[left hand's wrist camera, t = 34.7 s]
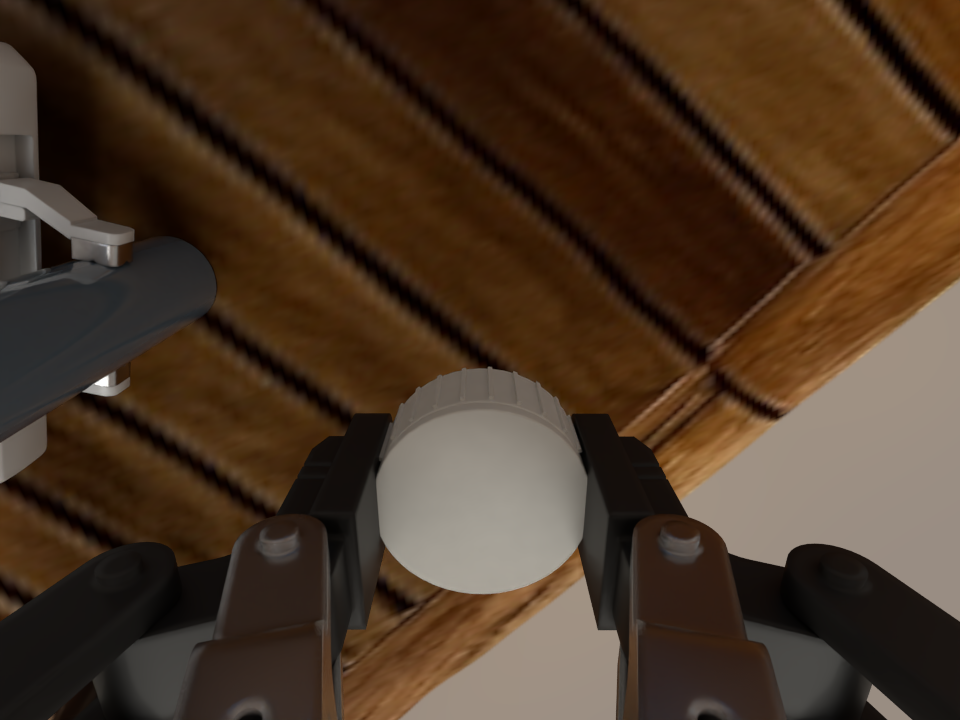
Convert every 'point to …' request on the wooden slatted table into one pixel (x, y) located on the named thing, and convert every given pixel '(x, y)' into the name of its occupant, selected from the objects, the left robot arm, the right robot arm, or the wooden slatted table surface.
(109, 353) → the bottle
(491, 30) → the wooden slatted table surface
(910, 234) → the wooden slatted table surface
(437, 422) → the cap
